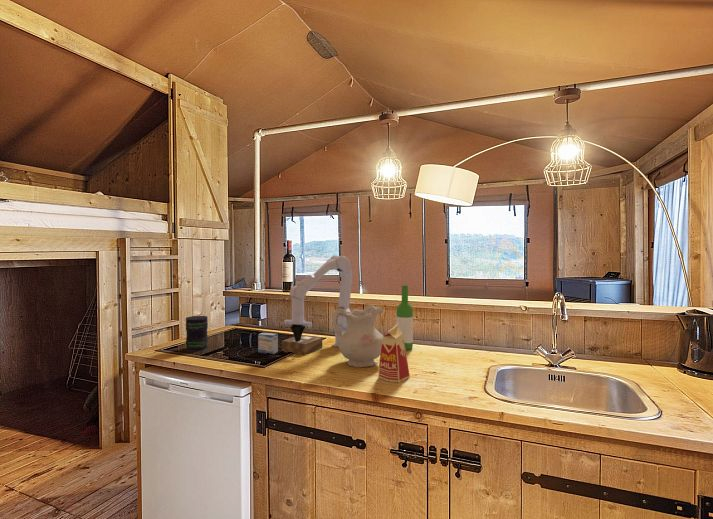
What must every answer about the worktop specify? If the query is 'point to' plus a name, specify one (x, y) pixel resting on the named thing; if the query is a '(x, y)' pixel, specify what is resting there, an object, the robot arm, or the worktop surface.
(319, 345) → the socket block
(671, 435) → the worktop surface
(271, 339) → the medicine box
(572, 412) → the worktop surface
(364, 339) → the ceramic pitcher
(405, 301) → the wine bottle
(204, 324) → the storage jar
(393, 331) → the milk carton
